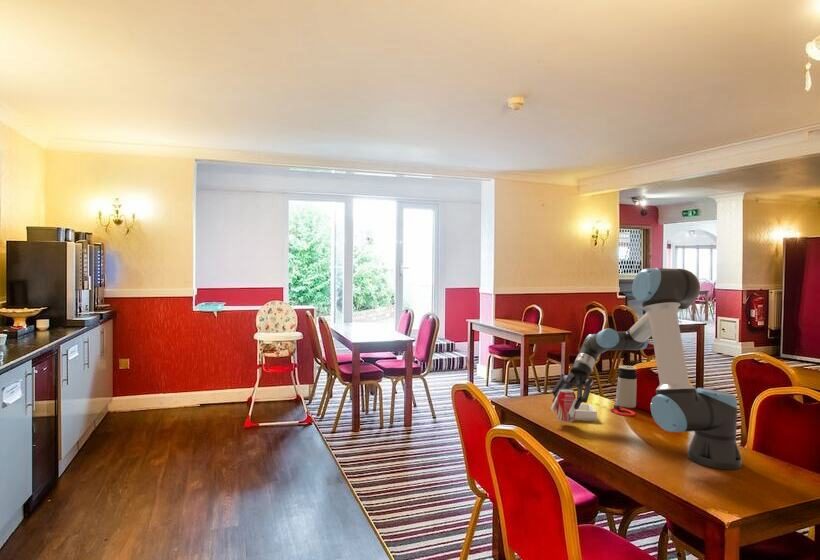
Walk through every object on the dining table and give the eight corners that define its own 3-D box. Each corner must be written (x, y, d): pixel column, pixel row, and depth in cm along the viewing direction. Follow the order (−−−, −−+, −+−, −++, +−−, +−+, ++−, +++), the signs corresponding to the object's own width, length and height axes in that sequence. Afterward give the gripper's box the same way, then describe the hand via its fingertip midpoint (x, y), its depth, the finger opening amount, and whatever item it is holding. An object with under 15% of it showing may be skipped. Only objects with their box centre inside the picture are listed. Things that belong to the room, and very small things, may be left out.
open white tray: (596, 421, 206) (597, 411, 206) (566, 419, 207) (566, 410, 207) (589, 413, 218) (590, 403, 218) (561, 411, 219) (561, 402, 219)
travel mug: (636, 409, 226) (638, 369, 226) (617, 407, 229) (619, 367, 229) (634, 404, 234) (636, 366, 234) (616, 402, 236) (617, 364, 236)
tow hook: (639, 416, 217) (621, 409, 225) (641, 386, 216) (623, 381, 224) (626, 418, 213) (608, 411, 221) (628, 388, 212) (610, 382, 220)
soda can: (560, 416, 204) (560, 387, 204) (577, 420, 200) (578, 390, 200) (554, 420, 199) (554, 390, 198) (571, 424, 194) (572, 393, 194)
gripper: (557, 357, 213) (535, 402, 202) (603, 364, 199) (582, 412, 188) (564, 368, 217) (542, 412, 206) (609, 376, 202) (588, 424, 192)
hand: (561, 412), depth 197 cm, fingers closed on soda can, 7 cm apart
